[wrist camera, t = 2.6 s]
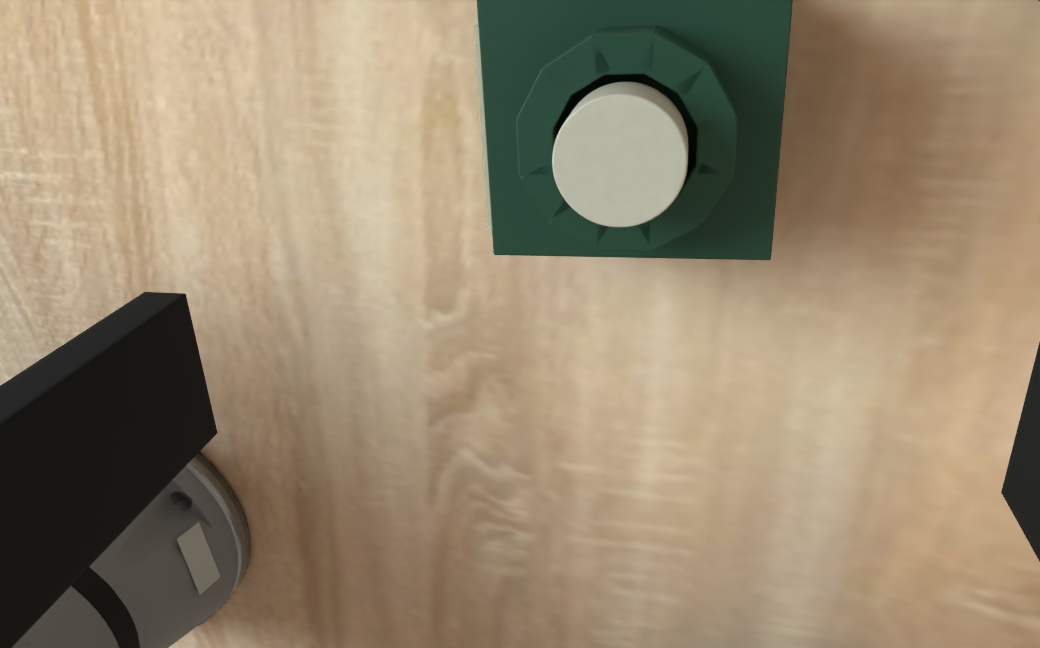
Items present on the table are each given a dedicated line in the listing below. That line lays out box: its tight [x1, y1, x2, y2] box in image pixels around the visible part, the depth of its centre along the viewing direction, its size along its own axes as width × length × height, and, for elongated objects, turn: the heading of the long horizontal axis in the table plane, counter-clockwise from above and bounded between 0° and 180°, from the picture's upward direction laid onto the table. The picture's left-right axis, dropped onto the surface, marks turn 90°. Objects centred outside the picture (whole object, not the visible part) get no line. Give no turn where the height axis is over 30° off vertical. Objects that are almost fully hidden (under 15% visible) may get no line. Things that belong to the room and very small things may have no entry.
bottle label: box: [474, 24, 492, 231], centre depth 31 cm, size 1×7×5 cm, turn 3°
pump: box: [552, 82, 688, 227], centre depth 25 cm, size 4×4×2 cm
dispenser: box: [477, 0, 793, 260], centre depth 30 cm, size 10×9×10 cm
